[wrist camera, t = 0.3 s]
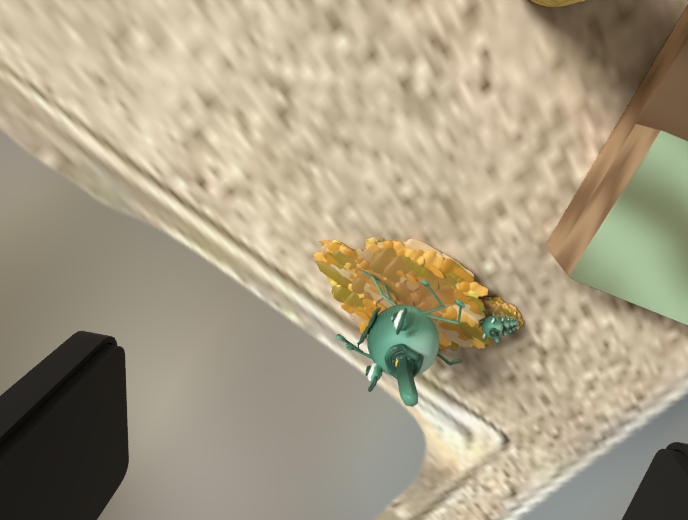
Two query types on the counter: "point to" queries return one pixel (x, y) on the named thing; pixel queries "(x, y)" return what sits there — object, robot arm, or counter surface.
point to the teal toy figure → (411, 306)
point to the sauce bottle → (555, 2)
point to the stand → (638, 196)
